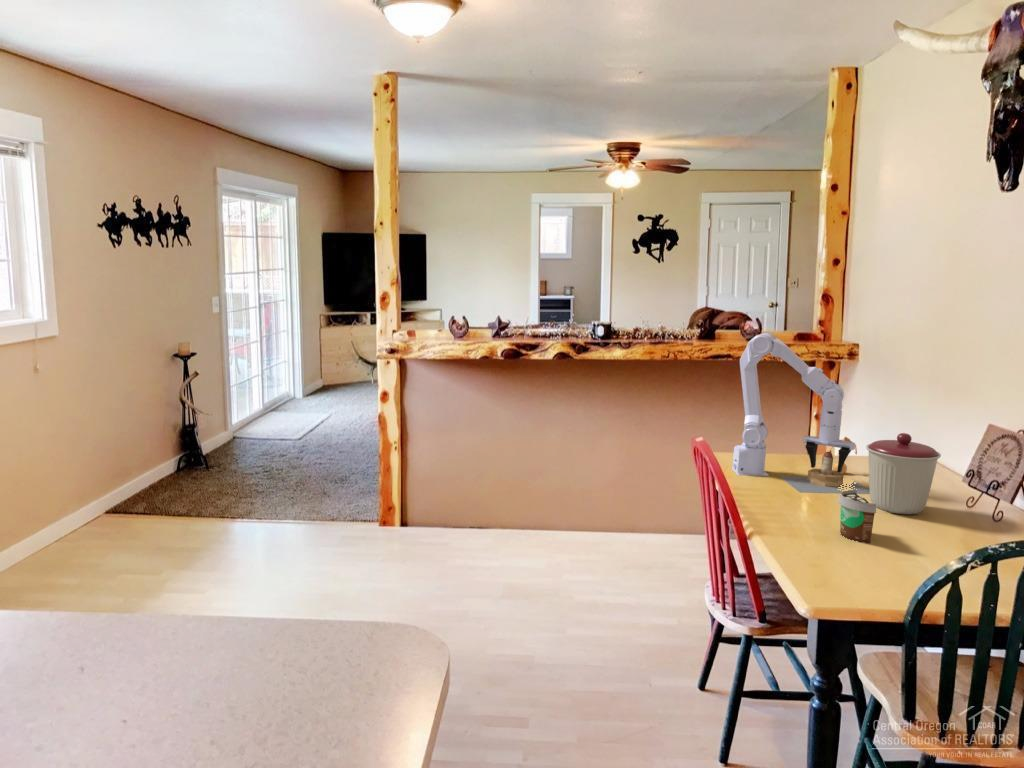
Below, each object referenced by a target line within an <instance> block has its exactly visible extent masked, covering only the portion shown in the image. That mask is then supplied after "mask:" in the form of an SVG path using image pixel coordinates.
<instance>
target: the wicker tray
mask: <svg viewBox="0 0 1024 768" xmlns="http://www.w3.org/2000/svg"><path fill="white" fill-rule="evenodd" d="M844 476H845V474H842V473H840V472H837V471H834V469H832V473H831V475H825V474H821V468H812V469H808V472H807V477H808V481H809V482H811V483H812V484H816V485H821V486H829V487H838V486H840V485H842V484H843V478H845V477H844Z"/></svg>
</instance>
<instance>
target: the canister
mask: <svg viewBox="0 0 1024 768" xmlns="http://www.w3.org/2000/svg"><path fill="white" fill-rule="evenodd" d="M865 448H866V450H867V451H868V483H869V484H868V486H869V487H868V488H869V489H868V490H870V494H869V498H870V501H871V504H876V509H880V510H882V511H885V512H889V513H891V514H896V515H897V514H898V515H899V514H900V515H916V514H919V513H921V512H923V510H924V509H925V508H926V505H927V503H928V499H929V497H930V496H929V495H930V492H931V487H932V484H933V479H934V476H935V472H936V468H937V463H938V459H940V458H941V457H942V455H941V454H942V453H940V452H939V451H937V450H936V449H935V448H933V447H932V446H929V445H926V444H923V443H920V442H914V441H912V436H911V434H909V433H905V432H901V433H899V434H897V436H896V439H883V440H882V439H880V440H876V441H873V442H872V443H868V444H866V447H865Z"/></svg>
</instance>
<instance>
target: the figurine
mask: <svg viewBox="0 0 1024 768" xmlns="http://www.w3.org/2000/svg"><path fill="white" fill-rule="evenodd" d="M841 440H843V441H848V442H853V441H852V440H851V439H850V438H849V437H847V436H844V437H843V438H842V439H841ZM833 448H834V447H832V446H831V448H830V450H831V451H832V449H833ZM840 449H841V448H839V450H840ZM857 449H858V448H857V444H856V443H855V449H854V454H855V455H857V454H858V450H857ZM837 455H839V452H838V454H837ZM838 463H839V460H838V461H837V462H836V463H835V464H833V466H832V470H834V471H837V470H838ZM847 467H848V466H847V465H846V464H845V462H844V465H843V468H842V471H841V472H840V473H842V474H843V475H845V474H846V472H847V471H848V468H847Z"/></svg>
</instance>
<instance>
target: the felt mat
mask: <svg viewBox="0 0 1024 768" xmlns="http://www.w3.org/2000/svg"><path fill="white" fill-rule="evenodd" d="M779 478H780V479H782V480H783V481H785V482H786V483H787V484H788V485H790V486H791V487H792V488H793V489H795V490H796V491H797V492H799V493H804V494H805V493H806V494H809V493H810V494H811V493H812V494H841V493H842V490H844V489H842V490H841V491H840V490H837V489H841V488H838V487H841V486H838V487H829V486H821V485H816V484H812V483H811V482H809V481H808V476H779ZM854 482H856V481H855V480H854ZM854 482H853V483H852V484H853V485H852V484H851V485H852V486H851V487H853V486H855V487H853V488H851V487H849V488H851V489H853V490H856V489H857V495H870V489H868V488H867V487H865V486H863V485H862V484H860V483H859V482H857V483H856V484H854ZM846 485H847V484H846ZM842 486H844V485H842ZM849 486H850V485H849ZM845 487H847V486H845ZM842 488H844V487H842ZM854 488H855V489H854ZM846 489H847V488H846Z"/></svg>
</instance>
